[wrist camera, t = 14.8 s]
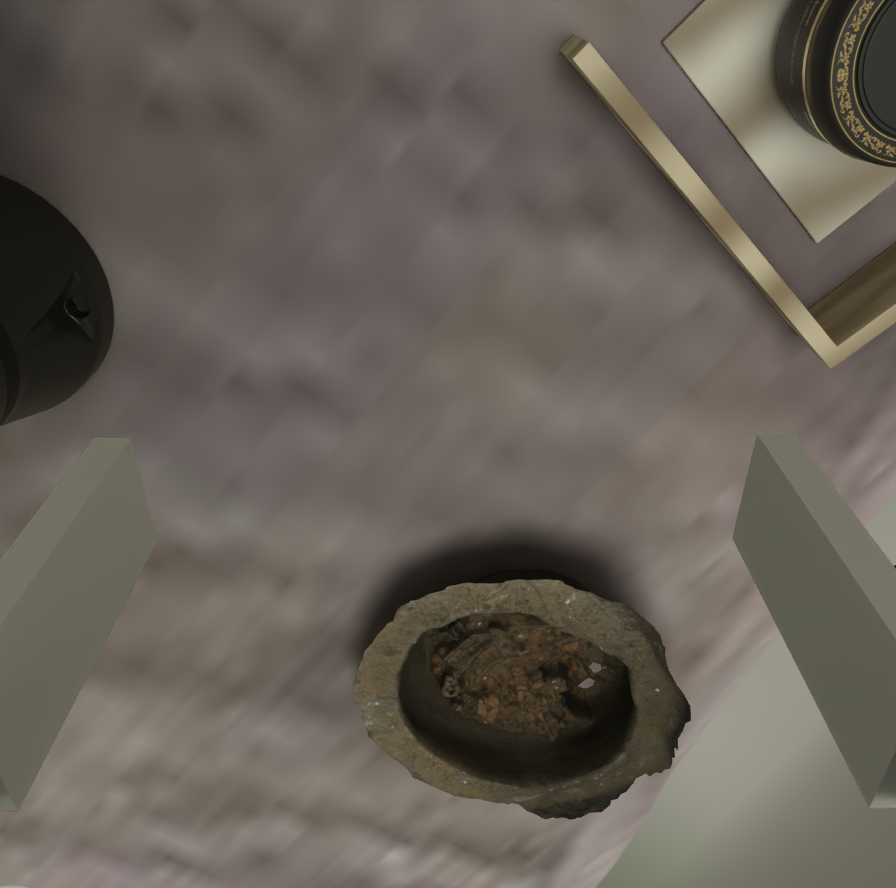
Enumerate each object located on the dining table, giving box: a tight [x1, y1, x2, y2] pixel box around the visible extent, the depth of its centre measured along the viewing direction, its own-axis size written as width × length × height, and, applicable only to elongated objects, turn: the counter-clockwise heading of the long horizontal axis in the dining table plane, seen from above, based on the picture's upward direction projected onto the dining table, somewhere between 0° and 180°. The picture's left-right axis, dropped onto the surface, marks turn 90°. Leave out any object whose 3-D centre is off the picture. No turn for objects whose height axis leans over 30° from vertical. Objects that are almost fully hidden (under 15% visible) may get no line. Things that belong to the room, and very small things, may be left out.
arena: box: [559, 0, 896, 369], centre depth 39 cm, size 23×20×5 cm
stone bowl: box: [353, 570, 691, 820], centre depth 60 cm, size 25×25×9 cm
